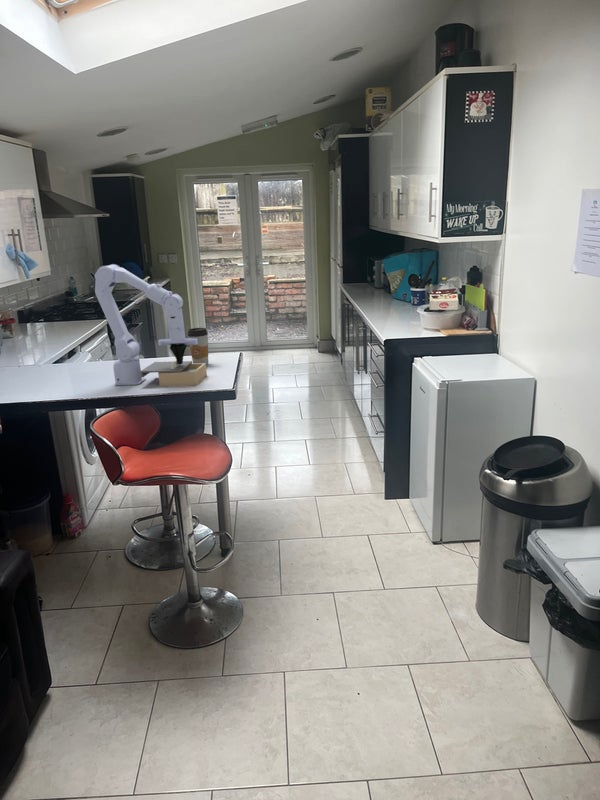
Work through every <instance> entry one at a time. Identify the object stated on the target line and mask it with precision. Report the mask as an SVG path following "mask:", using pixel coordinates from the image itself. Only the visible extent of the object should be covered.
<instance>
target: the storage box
mask: <svg viewBox="0 0 600 800" xmlns="http://www.w3.org/2000/svg"><path fill="white" fill-rule="evenodd" d="M207 373H208V372H207V365H206V363H195V364H193V363H191V364H190V365H189V366H187V367H186V368H185V369H184V370H182V371H181V372H157V374H158V383H159V387H178V386H179V387H180V386H182V387H183V386H184V387H187V386H191V387H192V386H198V384H200V383H201V382H202V381H203V380H204V379H205V378H207V376H208V374H207Z"/></svg>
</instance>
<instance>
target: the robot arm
mask: <svg viewBox="0 0 600 800" xmlns="http://www.w3.org/2000/svg"><path fill="white" fill-rule="evenodd" d="M94 280H95V284H94V285H95V287H94V293H95V296H96V298H97V300H98V303H99V305H100V307H101V309H102V312H103V313H104V317H105V319H106V320H107V323H108V326H109V327H110V330H111V332H112V334H113V337H114V343H113V345H114V346H115V353H116V354H115V355H116V357H117V358H118V359H116V360H114V363H113V374H114V382H115V383H114V386H121V385H122V386H126V385H129V386H132V385H133V386H136V385H140V384H141V383H143V382H144V381H146V380H147V378H146V377H142V378H141V371H142V369H141V362H140V356H139V354H140V353H141V345H140V344H139V342H138V341H137V340H135V337H134V336H133V335H132V334H131V333H130V332H129V331H128V328H127V325H126V323H125V320H124V319H123V317H122V314H121V312H120V309H119V307H118V305H117V302H116V300H115V298H114V297H113V293H112V292H113V290H114V287H115V286H116V284H117V283H125V284H128V285H130V286H132V287H133V288H136V289H137V290H140V291H141V292H144V294H145V296H146V298H148V299H149V300H151V301H153V302H155V303H156V304H158V305H160V306H162V307H163V308H164V309H165V310H166V318H167V327H168V328H167V329H168V335H169V338H167V339H166V338H165V339H164V338H161V339H159V340H158V342H157V343H158V347H160V346H170V347H169V349H170V351H171V352H172V354H173V355H174V357H175V360H177V363H178V364H182V363H183V361H184V355H185V352H186V348H187V345H190V344H194V345H196V344H198V341H197V339H192V338H188V337H187V338H186V334H185V324H184V323H185V322H184V314H183V306H184V300H183V298H182V297H181V295H179V294H178V293H173V291H171V290H167V289H165V288H164V287H162V285H161V284H160V283H151V284H150V283H148V282H146V281H145V280H144V279H141V278H140V277H138V276H137V275H135V274H134V273H132V272H130V271H129V270H127V269H125V268H124V267H122V266H121V267H120V265H118V264H115V263H112V264H109V265H102V266H100V267H99V268H98V269H97V270H96V271H95V274H94Z"/></svg>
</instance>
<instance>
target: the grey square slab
mask: <svg viewBox="0 0 600 800" xmlns="http://www.w3.org/2000/svg"><path fill="white" fill-rule="evenodd" d="M190 364H193V360H183V363H182V364H178V363H177V360H176V359H175V360H173V361H154V362H153V363H150V364H149V365H148V366H146V367H145V368H144V369H141V378H145V377H146V376H147V375H148V374H150V373H159V372H181V371H182V370H184V369H185V368H186V367H187V366H189V365H190Z"/></svg>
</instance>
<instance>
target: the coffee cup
mask: <svg viewBox="0 0 600 800" xmlns="http://www.w3.org/2000/svg"><path fill="white" fill-rule="evenodd" d="M187 331H188V332H187V338H192V339H197V341H198V344H196V345H194V344H189V349H190V354H191V359H192V360H191V361H192V364H195V363H206V366H207V365H209V341H208V340H209V339H208V335H209V333H208V330H207V328H206V327H194V328H193V327H192V328H189V329H187Z"/></svg>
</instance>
